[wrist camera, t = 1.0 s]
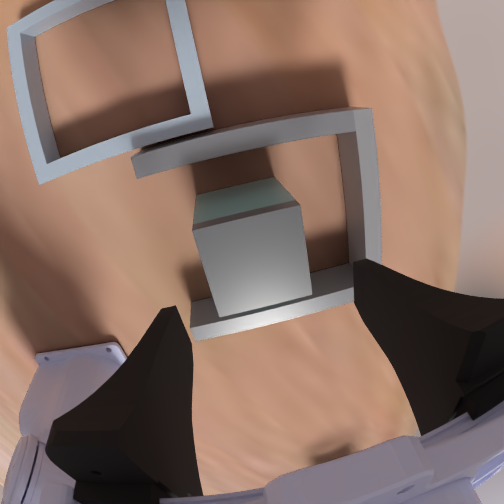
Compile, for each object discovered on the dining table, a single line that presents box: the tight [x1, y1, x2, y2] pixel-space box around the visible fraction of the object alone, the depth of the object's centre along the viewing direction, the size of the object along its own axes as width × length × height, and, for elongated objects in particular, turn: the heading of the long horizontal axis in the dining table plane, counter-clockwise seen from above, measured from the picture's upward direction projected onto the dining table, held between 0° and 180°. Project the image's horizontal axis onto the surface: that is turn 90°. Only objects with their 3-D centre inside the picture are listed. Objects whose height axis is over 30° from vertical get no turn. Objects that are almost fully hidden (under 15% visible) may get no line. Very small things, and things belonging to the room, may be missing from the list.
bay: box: [131, 107, 382, 341], centre depth 19 cm, size 13×12×3 cm
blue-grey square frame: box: [7, 0, 213, 185], centre depth 14 cm, size 11×11×2 cm
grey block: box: [192, 177, 312, 317], centre depth 18 cm, size 5×5×6 cm
